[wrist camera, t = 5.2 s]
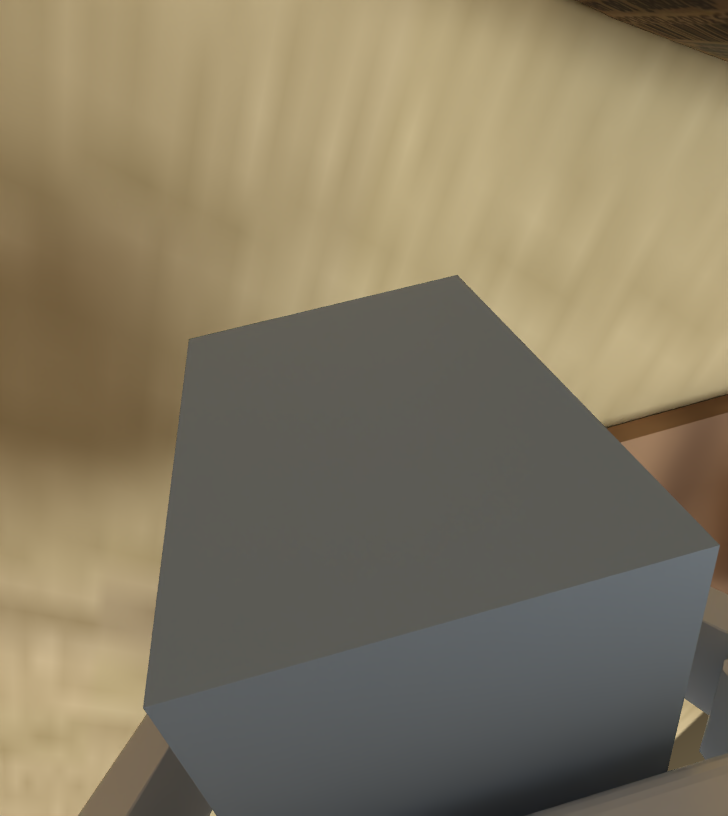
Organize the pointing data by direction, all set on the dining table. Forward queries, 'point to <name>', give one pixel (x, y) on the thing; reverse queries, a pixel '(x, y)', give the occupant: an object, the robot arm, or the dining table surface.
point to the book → (412, 573)
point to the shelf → (689, 465)
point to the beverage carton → (675, 20)
